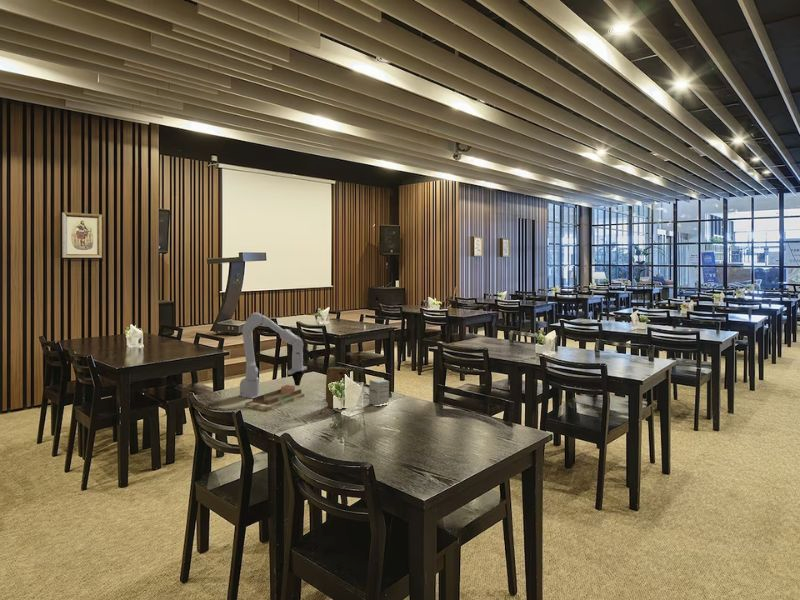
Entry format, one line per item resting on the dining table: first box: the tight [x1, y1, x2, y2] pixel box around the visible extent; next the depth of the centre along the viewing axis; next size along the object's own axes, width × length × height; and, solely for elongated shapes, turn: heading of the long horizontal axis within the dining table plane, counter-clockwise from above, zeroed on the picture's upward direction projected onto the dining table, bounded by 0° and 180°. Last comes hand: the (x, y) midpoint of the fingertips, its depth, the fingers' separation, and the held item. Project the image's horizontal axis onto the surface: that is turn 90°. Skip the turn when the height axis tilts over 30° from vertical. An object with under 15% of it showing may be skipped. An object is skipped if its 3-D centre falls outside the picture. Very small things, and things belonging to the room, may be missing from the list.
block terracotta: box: [280, 384, 296, 395], centre depth 266 cm, size 5×5×4 cm
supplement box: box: [368, 378, 390, 406], centre depth 258 cm, size 7×7×13 cm
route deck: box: [244, 388, 305, 412], centre depth 258 cm, size 14×29×4 cm, turn 155°
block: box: [325, 366, 349, 410], centre depth 251 cm, size 11×8×20 cm
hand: (297, 385), depth 274 cm, fingers closed
